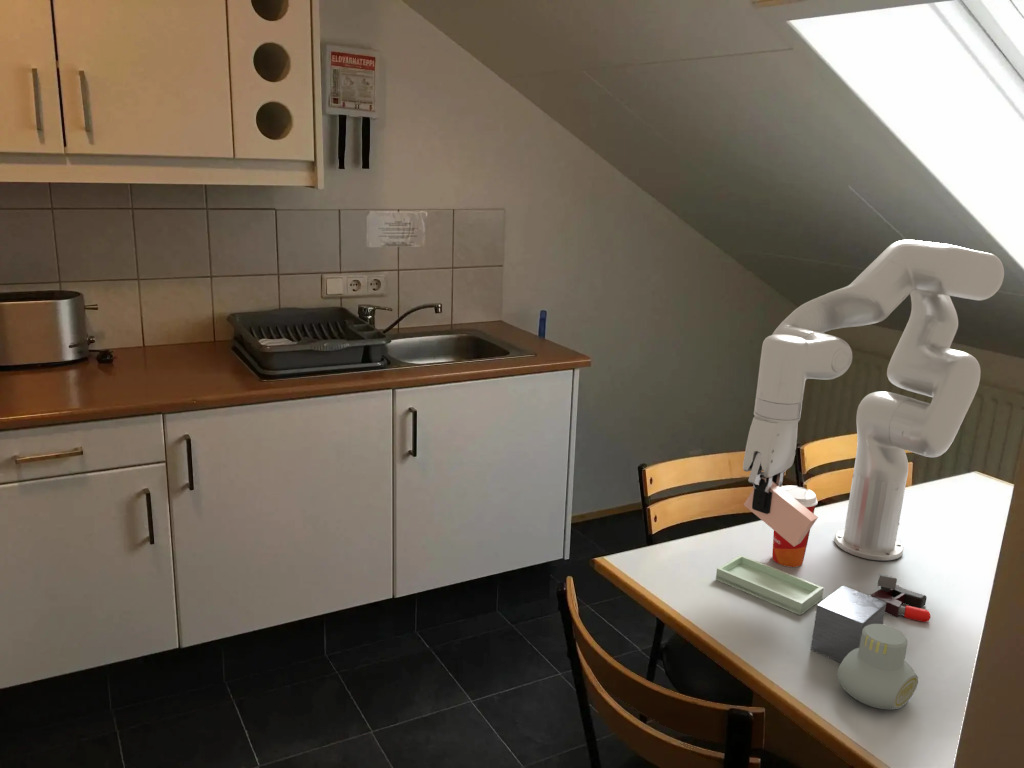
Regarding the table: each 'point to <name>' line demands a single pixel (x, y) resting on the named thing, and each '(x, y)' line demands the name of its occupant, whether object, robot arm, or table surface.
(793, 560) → the paper cup
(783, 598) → the tray
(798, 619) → the table surface
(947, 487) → the table surface
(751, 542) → the table surface
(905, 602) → the toy gun
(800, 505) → the pink rectangular block
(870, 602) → the dispenser
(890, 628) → the air freshener
